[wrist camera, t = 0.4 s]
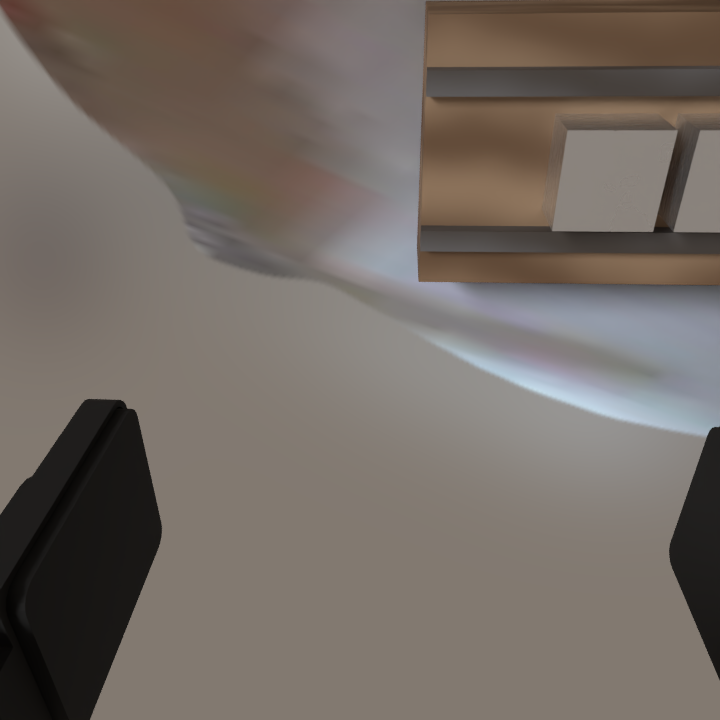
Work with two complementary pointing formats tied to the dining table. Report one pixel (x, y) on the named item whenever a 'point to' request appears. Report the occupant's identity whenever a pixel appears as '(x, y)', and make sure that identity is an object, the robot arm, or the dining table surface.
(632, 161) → the chip
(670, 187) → the chip
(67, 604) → the robot arm
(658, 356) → the dining table surface
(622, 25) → the slot board
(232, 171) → the dining table surface
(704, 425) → the dining table surface
